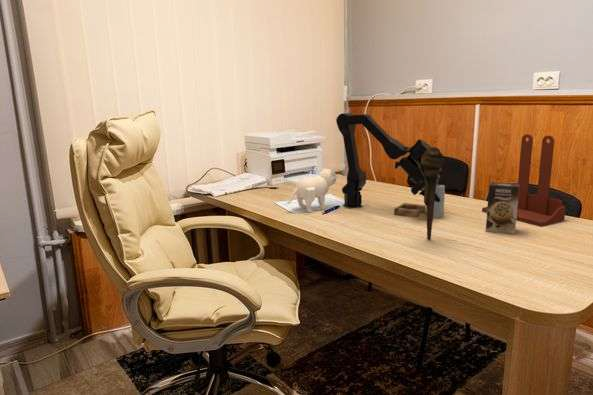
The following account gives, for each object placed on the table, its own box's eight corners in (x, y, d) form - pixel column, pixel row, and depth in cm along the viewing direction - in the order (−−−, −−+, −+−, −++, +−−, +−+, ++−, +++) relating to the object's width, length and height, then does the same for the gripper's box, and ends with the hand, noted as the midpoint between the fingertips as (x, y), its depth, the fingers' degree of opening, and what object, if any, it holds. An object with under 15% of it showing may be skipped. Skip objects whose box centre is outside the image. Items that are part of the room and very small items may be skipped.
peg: (429, 217, 162) (431, 186, 159) (433, 214, 165) (434, 184, 163) (440, 218, 160) (441, 187, 157) (443, 215, 163) (444, 185, 160)
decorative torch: (423, 235, 142) (426, 145, 135) (443, 238, 138) (447, 146, 131) (414, 240, 137) (417, 148, 130) (435, 244, 133) (439, 149, 126)
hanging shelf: (481, 212, 167) (486, 135, 160) (504, 207, 173) (510, 132, 166) (540, 227, 146) (549, 139, 139) (564, 221, 152) (573, 136, 145)
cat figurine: (291, 216, 171) (289, 175, 167) (281, 210, 180) (279, 171, 176) (344, 207, 181) (344, 169, 177) (332, 202, 190) (331, 165, 186)
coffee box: (485, 231, 143) (488, 184, 139) (486, 226, 149) (489, 181, 145) (515, 234, 139) (519, 186, 135) (515, 229, 144) (519, 182, 141)
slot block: (394, 215, 167) (394, 208, 166) (403, 208, 175) (404, 202, 175) (416, 217, 162) (416, 211, 161) (425, 211, 170) (425, 205, 170)
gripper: (420, 158, 152) (450, 191, 148) (436, 152, 167) (463, 182, 163) (398, 178, 158) (427, 210, 155) (415, 170, 173) (442, 199, 170)
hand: (441, 200), depth 160 cm, fingers closed on peg, 4 cm apart
